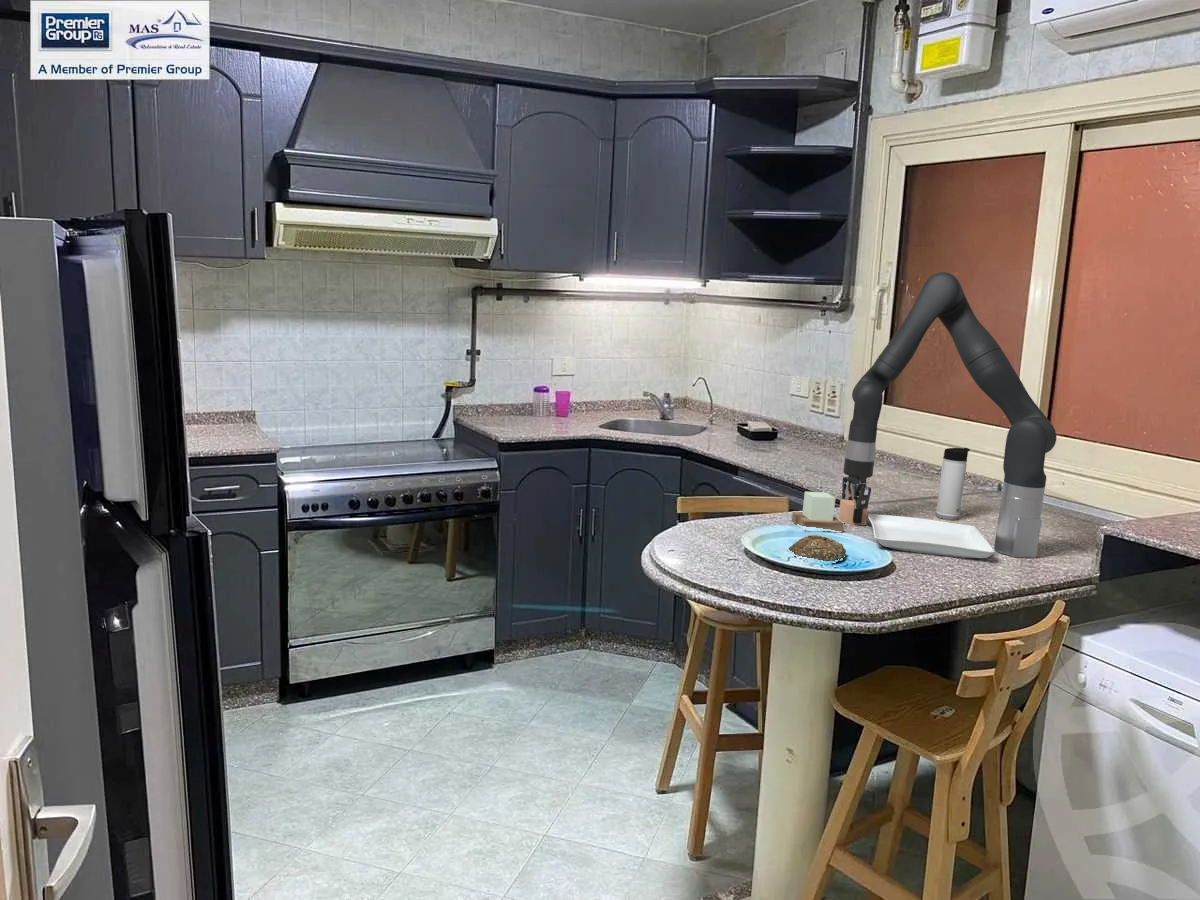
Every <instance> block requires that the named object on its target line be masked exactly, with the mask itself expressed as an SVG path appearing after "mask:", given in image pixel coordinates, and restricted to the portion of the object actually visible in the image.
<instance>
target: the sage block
mask: <svg viewBox="0 0 1200 900" xmlns="http://www.w3.org/2000/svg"><path fill="white" fill-rule="evenodd" d="M835 504H836V497H835V496H833V495H832V494H830V493H829V492H825V491H824V492H822V491H821V492H819V491H804V496H803V504H802V505H803V506H802V512H803V513H802V514H803V515H804V516H806V517H807V518H808V519H810V520H825V521H833V516H834V514H835V513H834V512H835V506H836V505H835Z"/></svg>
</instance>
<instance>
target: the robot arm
mask: <svg viewBox="0 0 1200 900" xmlns="http://www.w3.org/2000/svg"><path fill="white" fill-rule="evenodd" d="M969 303H970V302H969V301H968V298H967V297H966V295H965V292H964V289H963V287H962V285H961V283H960V282H959V279H958V278H957V277H956V276H955V275H954V274H952V273H950V272H946V271H943V272H942V271H940V272H937V273H934V274H933V275H931V276H930V277H928V278H927V279H926V281H925V282H924V283H923V286H922V288H921V290H920V292H919V294H918V295H917V298H916V300H915V302H914V304H913V306H912V307H911V309H910V310H909V312H908V314H907V316H906V318H905V319H904V321H903V322H902V324H901V325H900V326H899V328H898V329H897V331H896V332H895V334H894V335H893V336H892V338H891V339H890V341H889V342H888V343H887V344H886V346H885V347H884V348H883V350H882V352H881V353H880V354H879V355H878V356H877V358H876V359H875V361H874V363H873V364H872V366H871V367H870V368H869V369H868V370H867V371H866V372H865V374H863V375H862V376H861V378H860V379H859V380H858V381H857V383H856V384H855V386H854V388H853V390H852V392H851V398H852V401H853V402H854V407H853V414H852V419H851V420H850V422H849V423H850V424H849V428H848V429H849V430H848V436H847V437H848V439H847V442H846V447H845V453H844V454H845V456H844V462H843V470H842V472H843V474H844V475H845V476H843V477H842V486H841V489H842V490H841V500H853V501H854V513H853V522H854V523H861V521H862V513H863V510H864V509H867V508H868V509H869V502H870V499H871V493H872V488H871V487H867V479H868V478H871V477H873V475H874V468H875V467H874V466H875V461H876V460H875V459H876V449H877V448H876V443H877V442H876V441H877V433H878V422H879V419H880V415H881V412H882V411H881V410H882V406H883V398H884V395H883V393H884V392H885V391H886V389H887V387H888V386H889V385H890V384H891V383H893V382H894V381H895V380H896V379H898V377H899V376H901V375H900V374H902V372H903V371H904V370H905V368H906V367H907V366H908V364H909V363H910V362H911V360H912V359H913V357H914V355H915V353H916V351H917V350H918V348H919V346H920V344H921V342H922V340H923V338H924V336H925V335H926V333H927V331H928V329H930V327H931V326H932V324H933V323H934V322H935V320H936V319H937V318H938V320H940V322H941V323H942V325H943V326H944V327H945V328H946V330H947V332H948V333H949V334H950V337H951V339H952V340H953V343H954V345H955V346H954V347H955V348H956V350H957V353H958V355H959V357H960V359H961V361H962V363H963V365H964V367H965V368H966V370H967V372H968V374H969V375H970V377H971V378H972V380H973V381H974V383H975V384H976V386H977V387H978V388H980V390H981V391H982V392H983V394H985V395H986V396H987V397H988V398H989V399H990V400H991V401H993V403H995V404H996V405H997V406H998V407H999V409H1000V410H1001V411H1002V413H1004V415H1005V417H1006V418H1007V421H1008V423H1010V428H1009V429H1008V432H1007V436H1006V440H1005V445H1004V446H1005V447H1004V455H1003V465H1002V467H1003V468H1002V469H1003V472H1004V473H1003V474H1004V478H1003V484H1002V491H1001V498H1000V505H999V512H998V518H997V526H996V531H995V532H996V533H995V538H994V539H995V540H994V545H993V549H994V550H995V552H998V553H1000V554H1004V555H1007V556H1011V558H1012V557H1013V558H1034V559H1035V558H1037V554H1038V547H1039V540H1040V535H1041V530H1042V519H1041V515H1042V508H1043V503H1044V496H1045V490H1046V484H1047V475H1046V474H1045V468H1044V467H1045V460H1046V454H1047V453H1048V452H1050V451H1052V450H1053V448H1054V447H1055V445H1056V443H1057V431H1056V429H1055V427H1054V425H1053V424H1052V423H1051V421H1050V420H1049V418H1048V417H1047V416H1046V415H1045V414H1044V413H1043V411H1042V410H1041V409H1040V408H1039V406H1038V405H1037V403H1036V402H1035V401H1034V400H1033V399H1032V397H1031V396H1030V394H1029V392H1028V391H1027V389H1026V388H1025V386H1024V384H1023V382H1022V380H1021V379H1020V377H1019V376H1018V374H1017V372H1016V371H1015V369H1014V367H1013V366H1012V364H1011V362H1010V360H1009V359H1008V357H1007V355H1006V354H1005V352H1004V351H1003V349H1002V348H1001V346H1000V345H999V344H998V342H997V341H996V339H995V338H994V337H993V335H992V334H991V333H990V332H989V331H988V330H987V328H986V327H985V326H984V325H983V324H982V323H981V322H980V321H979V319H978V318H977V316H976V314H975V313H974V311H973V309H972V307H971V306H970V304H969ZM857 501H858V503H857Z"/></svg>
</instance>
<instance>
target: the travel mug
mask: <svg viewBox="0 0 1200 900" xmlns="http://www.w3.org/2000/svg"><path fill="white" fill-rule="evenodd" d="M969 452H970V448H968V447H964V448H963V447H948V448H945V449H944V451H943V457H942V463H941V471H940V479H939V486H938V493H937V502H936V507H935V508H936V509H935V517H936V516H937V517H936V518H938V517H940V518H939V519H941V518H944V519H943V520H945V519H949V520H948V521H958V520H959V519H960V514H961V506H962V501H963V493H964V492H963V491H964V486H965V478H966V470H967V463H968V455H969Z"/></svg>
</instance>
